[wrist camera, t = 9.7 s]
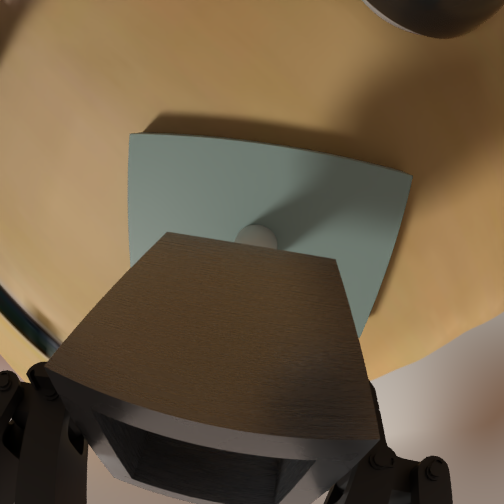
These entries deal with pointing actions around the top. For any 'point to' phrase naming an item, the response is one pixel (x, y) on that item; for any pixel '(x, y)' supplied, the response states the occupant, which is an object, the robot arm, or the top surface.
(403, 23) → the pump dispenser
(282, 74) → the top surface
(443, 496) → the robot arm
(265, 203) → the keeper
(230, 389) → the grey square sleeve
